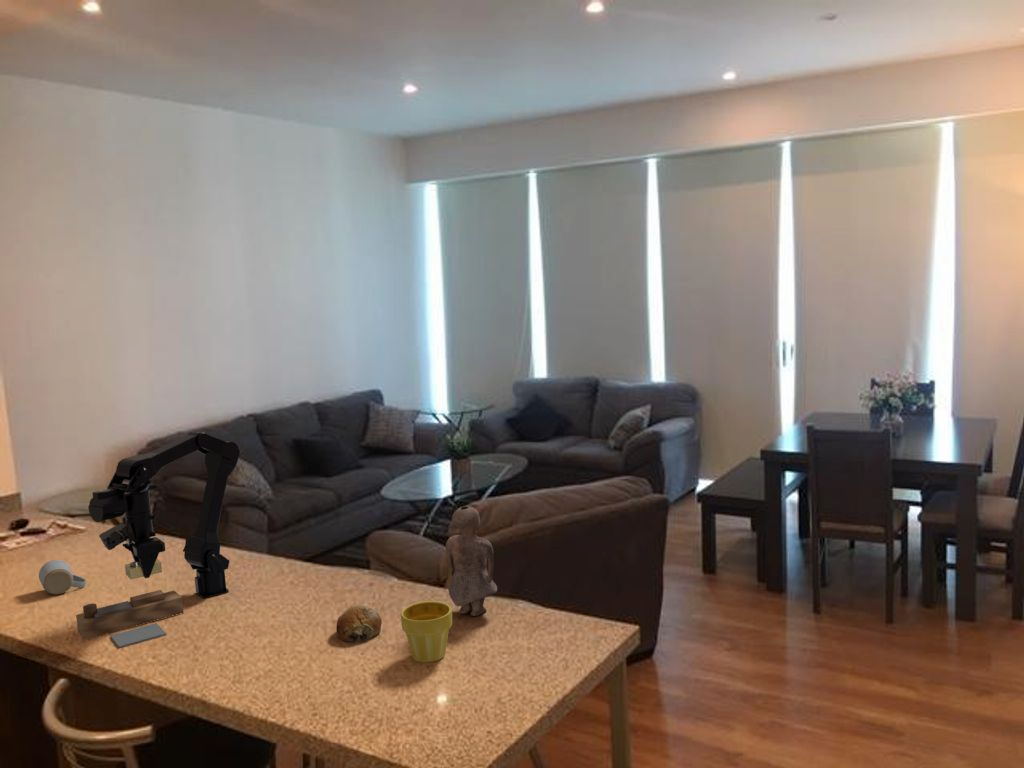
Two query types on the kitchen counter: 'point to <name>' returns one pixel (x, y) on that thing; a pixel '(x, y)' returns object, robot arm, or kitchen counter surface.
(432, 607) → the plant pot
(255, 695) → the kitchen counter surface
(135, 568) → the lever cap
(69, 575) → the ceramic mug
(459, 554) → the clay figurine
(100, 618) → the plane body
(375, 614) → the bread roll
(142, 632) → the mat
